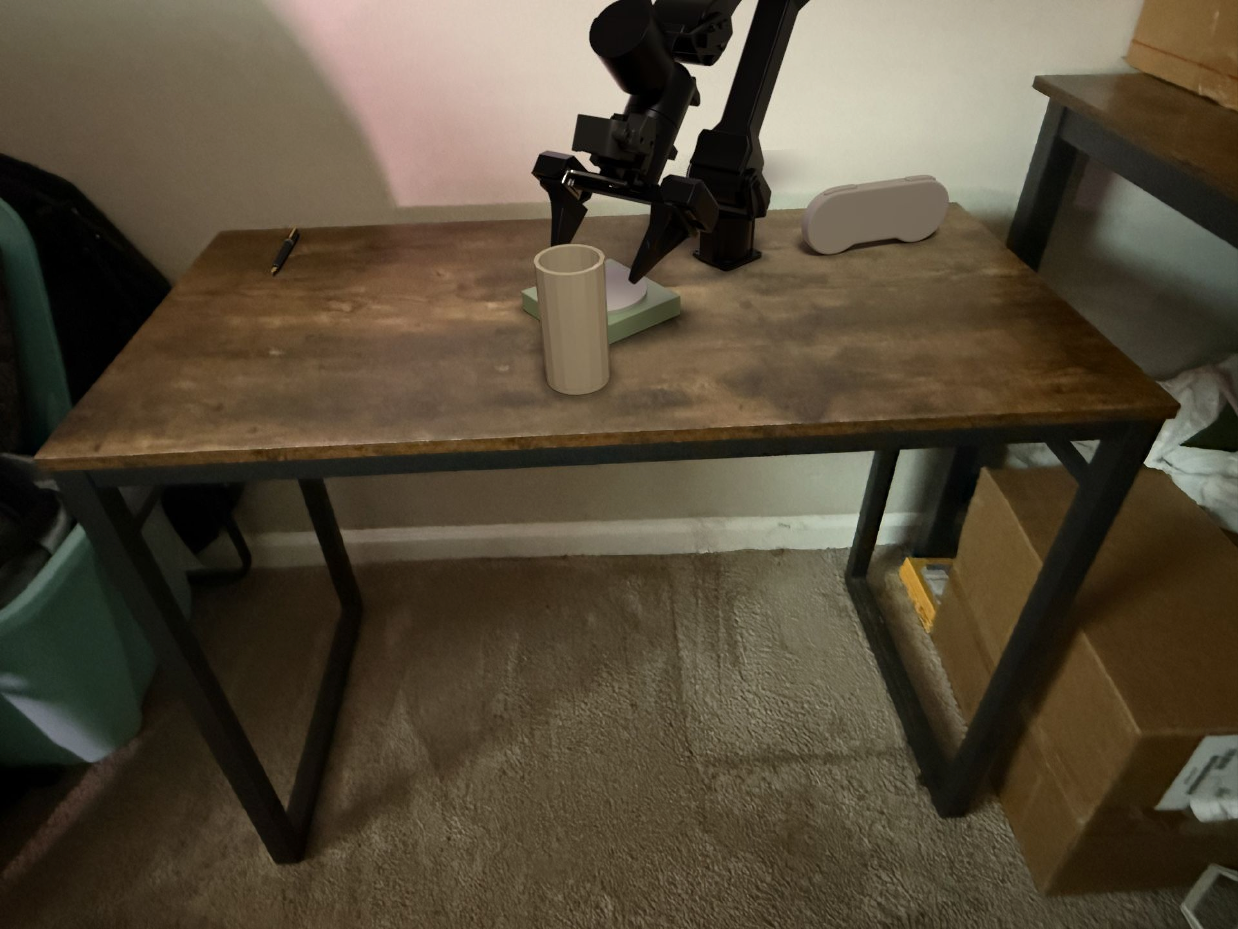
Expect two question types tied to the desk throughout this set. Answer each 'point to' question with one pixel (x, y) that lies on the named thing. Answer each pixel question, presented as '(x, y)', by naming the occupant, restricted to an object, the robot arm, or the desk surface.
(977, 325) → the desk surface
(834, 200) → the game controller
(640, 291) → the scale
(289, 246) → the fountain pen
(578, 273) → the cup
